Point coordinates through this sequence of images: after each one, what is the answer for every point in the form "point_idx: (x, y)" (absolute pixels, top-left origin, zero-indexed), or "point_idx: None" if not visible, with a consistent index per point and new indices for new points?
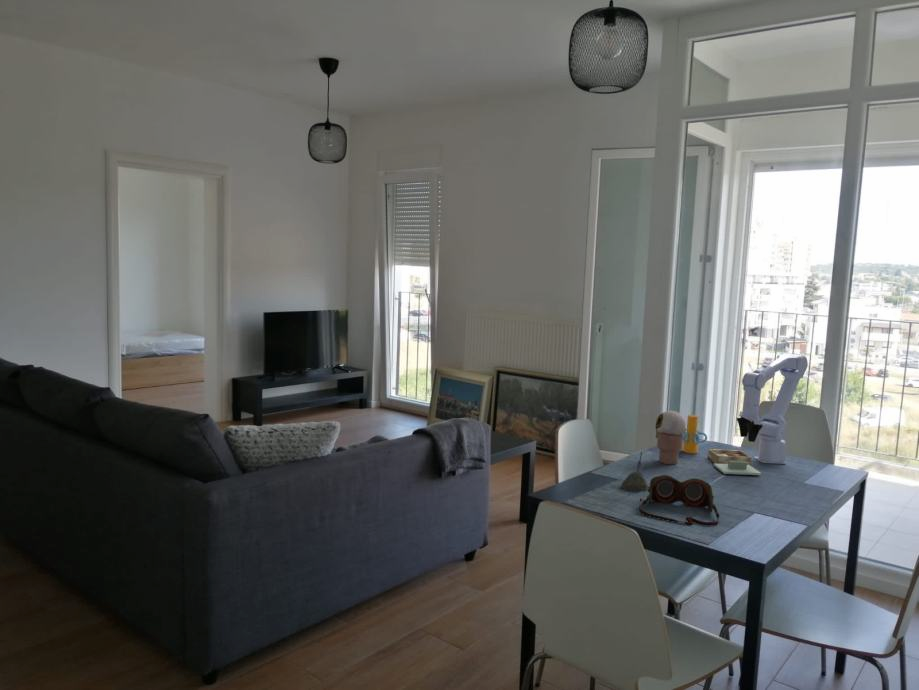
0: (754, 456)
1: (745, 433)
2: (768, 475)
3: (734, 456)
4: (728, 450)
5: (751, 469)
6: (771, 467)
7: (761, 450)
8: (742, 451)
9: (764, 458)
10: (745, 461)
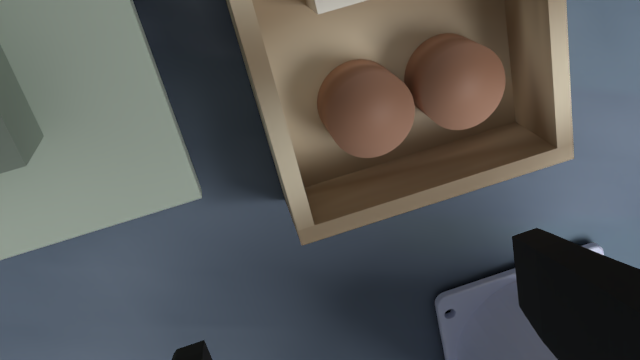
0: (597, 249)
1: (549, 325)
2: (21, 330)
3: (258, 61)
4: (546, 15)
5: (5, 208)
6: (326, 353)
7: (544, 345)
8: (534, 169)
9: (482, 328)
10: (277, 170)
